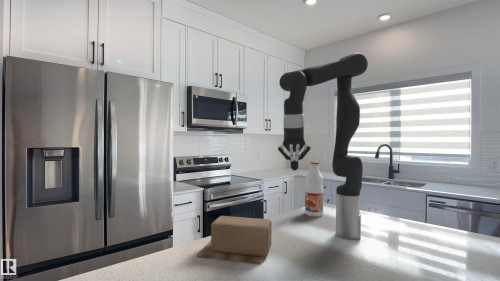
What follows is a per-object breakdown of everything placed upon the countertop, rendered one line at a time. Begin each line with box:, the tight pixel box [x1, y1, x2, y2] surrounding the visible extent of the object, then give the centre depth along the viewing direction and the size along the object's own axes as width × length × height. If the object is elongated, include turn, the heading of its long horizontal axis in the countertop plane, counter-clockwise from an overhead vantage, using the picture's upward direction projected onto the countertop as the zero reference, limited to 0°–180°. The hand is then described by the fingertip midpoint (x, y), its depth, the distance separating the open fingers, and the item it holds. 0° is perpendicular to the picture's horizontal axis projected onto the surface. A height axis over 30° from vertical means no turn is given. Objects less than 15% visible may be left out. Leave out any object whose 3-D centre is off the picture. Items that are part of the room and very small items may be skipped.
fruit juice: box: [304, 160, 324, 218], centre depth 138 cm, size 9×9×28 cm
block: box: [210, 215, 273, 258], centre depth 92 cm, size 10×10×20 cm
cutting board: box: [196, 239, 265, 265], centre depth 93 cm, size 22×16×1 cm
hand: (294, 169), depth 102 cm, fingers closed
